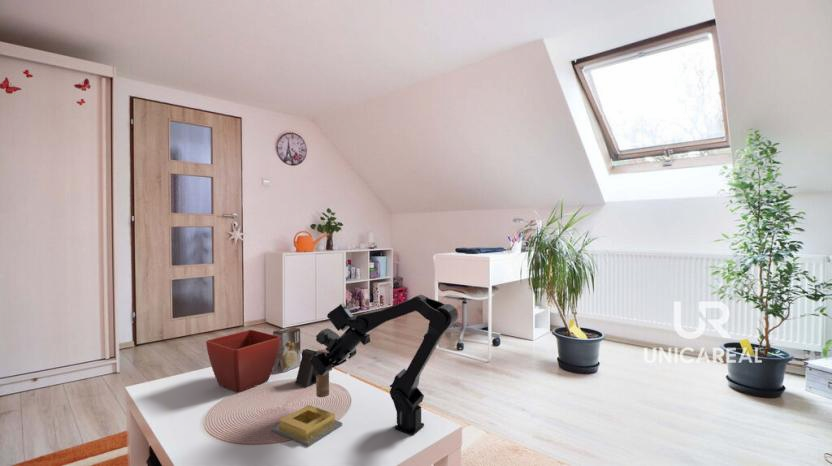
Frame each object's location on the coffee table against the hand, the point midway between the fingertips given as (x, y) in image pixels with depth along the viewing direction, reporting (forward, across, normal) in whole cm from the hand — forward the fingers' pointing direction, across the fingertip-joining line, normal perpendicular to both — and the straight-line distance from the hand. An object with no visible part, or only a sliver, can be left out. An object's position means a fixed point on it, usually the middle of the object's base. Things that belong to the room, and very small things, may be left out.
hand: (319, 372), depth 124 cm
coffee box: (+32, -24, -16) cm, 43 cm away
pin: (+4, 0, +6) cm, 7 cm away
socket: (+5, +12, +11) cm, 17 cm away
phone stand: (+20, -16, -3) cm, 26 cm away
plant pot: (+35, -6, -19) cm, 40 cm away
